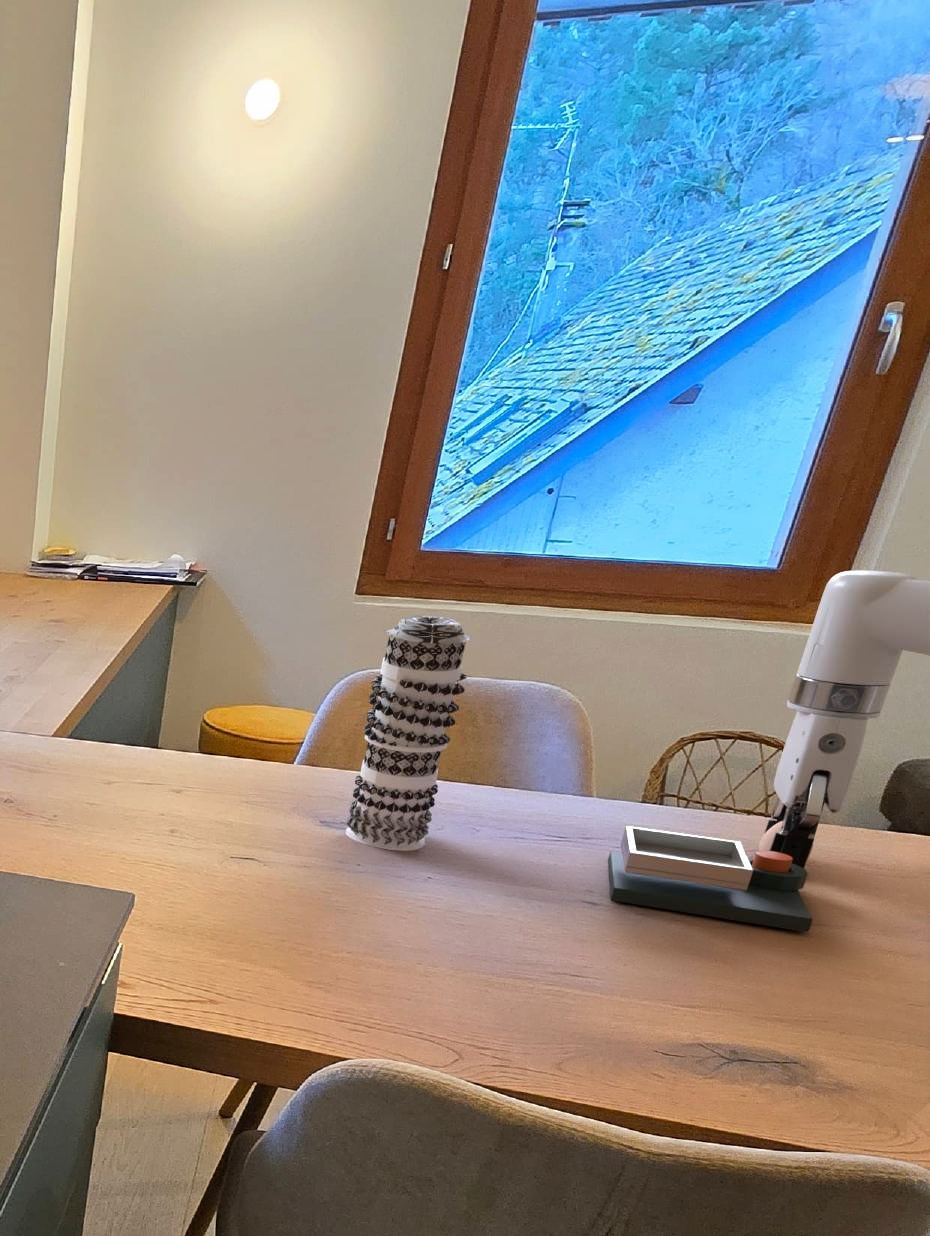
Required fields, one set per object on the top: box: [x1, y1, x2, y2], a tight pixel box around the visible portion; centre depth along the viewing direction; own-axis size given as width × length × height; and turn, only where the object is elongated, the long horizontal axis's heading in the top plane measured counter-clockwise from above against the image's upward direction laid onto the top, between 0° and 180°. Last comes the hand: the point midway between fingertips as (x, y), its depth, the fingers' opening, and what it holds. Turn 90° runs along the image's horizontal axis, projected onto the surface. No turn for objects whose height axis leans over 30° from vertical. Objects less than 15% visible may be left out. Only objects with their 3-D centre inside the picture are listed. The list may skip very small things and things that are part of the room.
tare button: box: [752, 850, 793, 872], centre depth 122 cm, size 3×3×2 cm
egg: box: [758, 819, 814, 859], centre depth 128 cm, size 4×4×6 cm
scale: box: [607, 851, 814, 933], centre depth 122 cm, size 16×14×3 cm
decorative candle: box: [345, 615, 471, 852], centre depth 132 cm, size 9×9×25 cm
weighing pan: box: [620, 825, 753, 890], centre depth 121 cm, size 10×10×2 cm
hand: (779, 862), depth 129 cm, fingers closed on egg, 4 cm apart
